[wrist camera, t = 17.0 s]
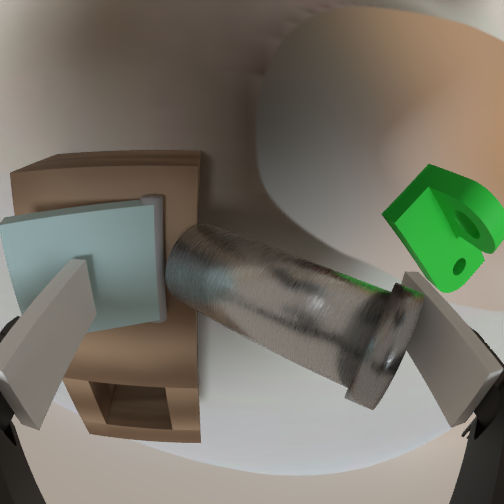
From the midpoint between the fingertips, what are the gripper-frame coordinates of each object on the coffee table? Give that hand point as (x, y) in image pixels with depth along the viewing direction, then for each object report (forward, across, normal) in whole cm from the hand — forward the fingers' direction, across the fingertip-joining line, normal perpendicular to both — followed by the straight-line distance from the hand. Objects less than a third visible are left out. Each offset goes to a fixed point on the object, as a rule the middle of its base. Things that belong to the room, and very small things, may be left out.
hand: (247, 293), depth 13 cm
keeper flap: (+2, -4, 0) cm, 5 cm away
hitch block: (+8, -8, -6) cm, 13 cm away
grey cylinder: (+3, -2, 0) cm, 4 cm away
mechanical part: (+11, +17, -1) cm, 20 cm away
